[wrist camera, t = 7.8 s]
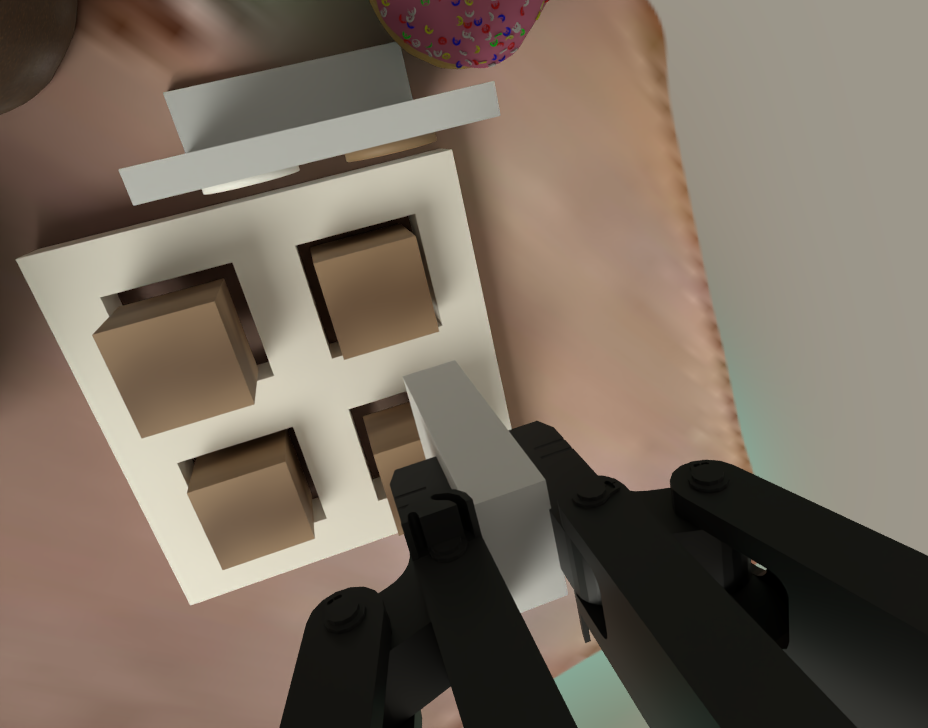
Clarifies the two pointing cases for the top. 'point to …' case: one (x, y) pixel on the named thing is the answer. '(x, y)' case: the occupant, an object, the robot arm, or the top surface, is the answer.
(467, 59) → the cupcake
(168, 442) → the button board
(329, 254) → the button
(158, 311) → the button
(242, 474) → the button
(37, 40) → the plant pot
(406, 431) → the button
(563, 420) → the top surface
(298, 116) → the card
